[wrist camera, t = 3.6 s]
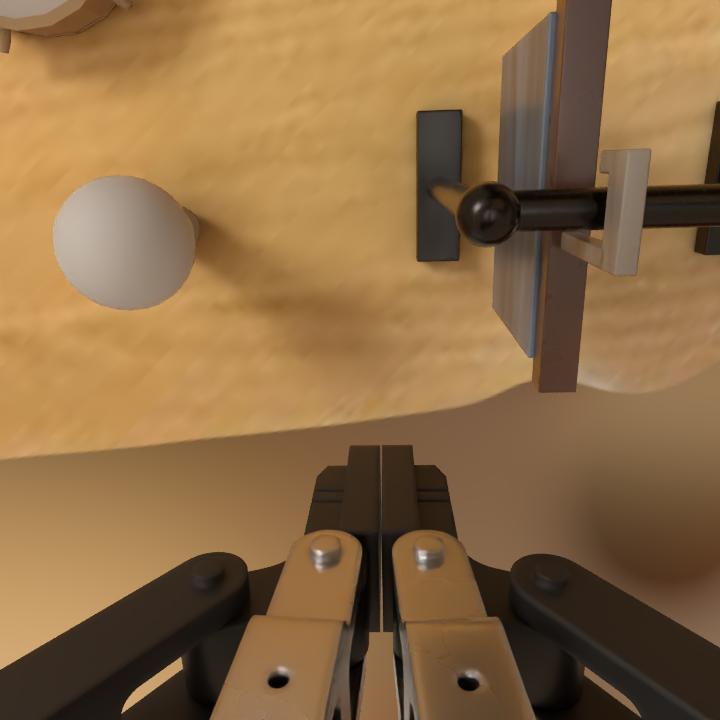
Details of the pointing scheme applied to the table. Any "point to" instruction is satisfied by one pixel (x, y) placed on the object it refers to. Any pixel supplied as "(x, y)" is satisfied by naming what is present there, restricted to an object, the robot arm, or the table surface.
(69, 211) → the lightbulb
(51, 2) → the alarm clock
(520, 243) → the hanging grey panel
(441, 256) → the valet rail
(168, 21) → the table surface
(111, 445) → the table surface
